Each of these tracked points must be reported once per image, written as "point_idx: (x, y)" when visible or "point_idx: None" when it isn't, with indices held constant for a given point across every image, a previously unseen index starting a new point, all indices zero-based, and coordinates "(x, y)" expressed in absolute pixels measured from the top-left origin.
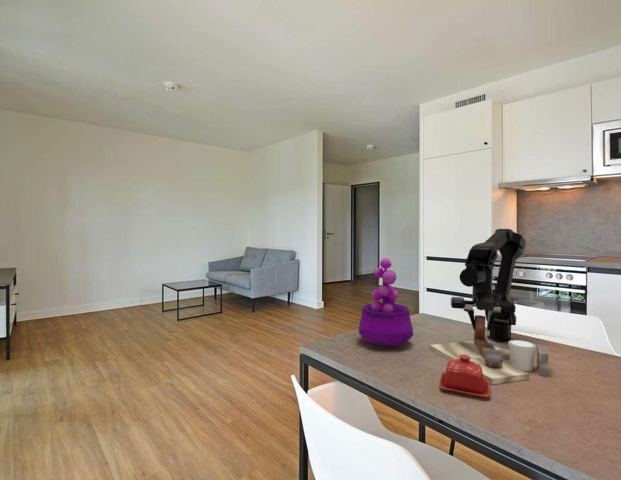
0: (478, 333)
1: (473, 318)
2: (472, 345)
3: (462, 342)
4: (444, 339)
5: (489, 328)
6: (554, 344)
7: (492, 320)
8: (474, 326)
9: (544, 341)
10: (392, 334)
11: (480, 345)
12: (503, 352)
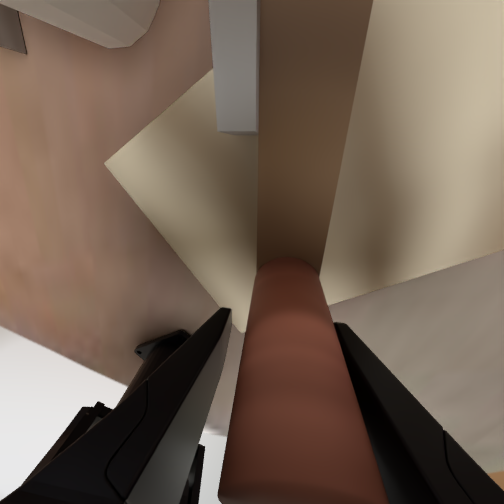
0: (308, 282)
1: (435, 470)
2: (330, 241)
3: (368, 279)
4: (401, 341)
5: (210, 319)
6: (30, 331)
7: (131, 404)
8: (349, 345)
9: (59, 349)
10: None
11: (363, 47)
12: (178, 150)
